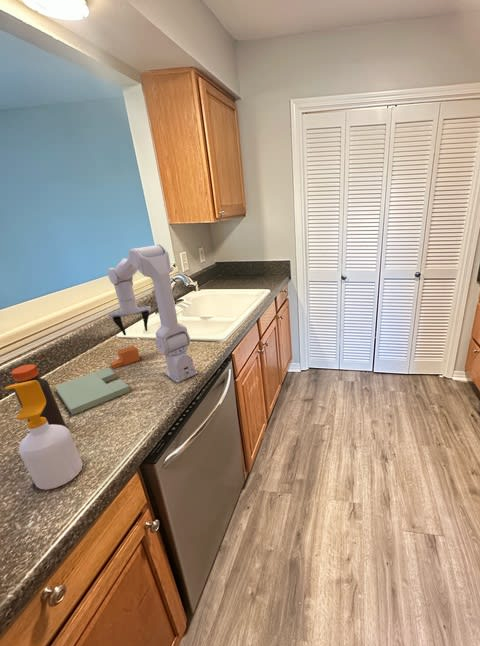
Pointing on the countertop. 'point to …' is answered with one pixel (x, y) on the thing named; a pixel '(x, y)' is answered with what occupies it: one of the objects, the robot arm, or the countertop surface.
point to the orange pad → (126, 356)
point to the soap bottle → (45, 441)
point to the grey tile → (91, 390)
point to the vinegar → (51, 407)
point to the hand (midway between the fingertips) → (135, 332)
